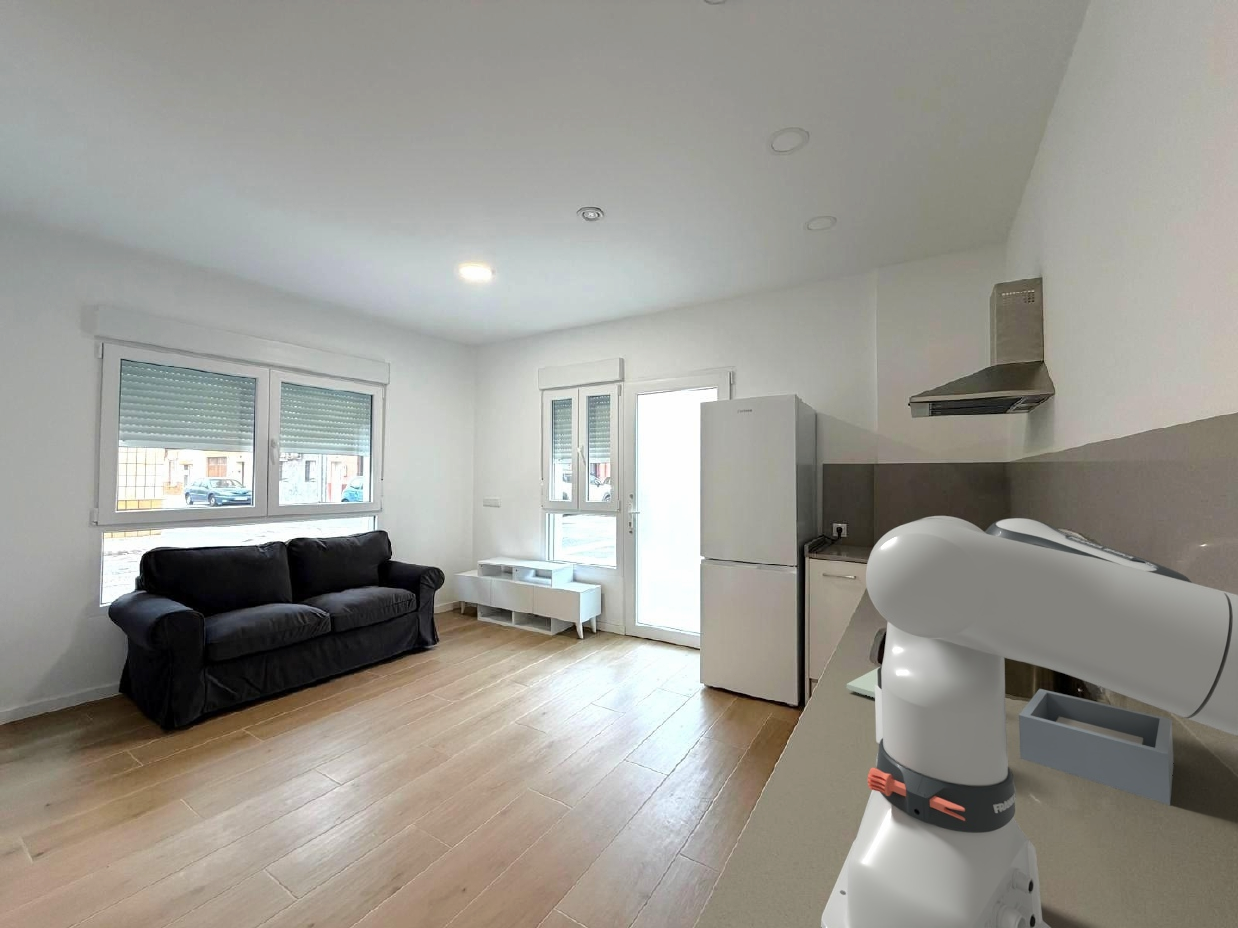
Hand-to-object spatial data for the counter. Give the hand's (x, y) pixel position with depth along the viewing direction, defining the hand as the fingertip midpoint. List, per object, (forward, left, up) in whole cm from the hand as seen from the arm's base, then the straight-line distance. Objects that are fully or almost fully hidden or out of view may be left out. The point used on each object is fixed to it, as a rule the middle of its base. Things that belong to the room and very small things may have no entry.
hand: (914, 567), depth 104 cm
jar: (-23, -6, -26) cm, 36 cm away
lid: (0, +3, -26) cm, 27 cm away
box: (-5, -27, -27) cm, 38 cm away
